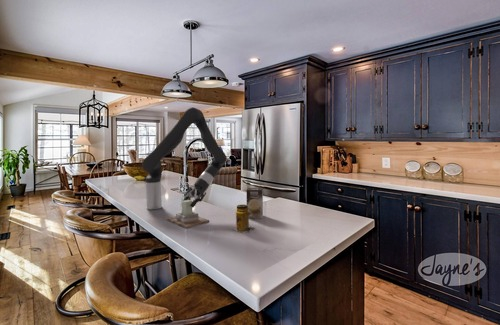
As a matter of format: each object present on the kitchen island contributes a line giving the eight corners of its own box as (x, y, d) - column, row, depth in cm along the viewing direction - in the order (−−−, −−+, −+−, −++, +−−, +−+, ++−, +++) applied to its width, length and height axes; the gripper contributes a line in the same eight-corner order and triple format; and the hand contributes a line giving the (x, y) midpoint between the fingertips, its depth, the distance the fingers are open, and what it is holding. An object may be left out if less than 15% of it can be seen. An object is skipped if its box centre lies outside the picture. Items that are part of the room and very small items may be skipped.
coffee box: (246, 218, 145) (245, 189, 143) (247, 215, 151) (246, 187, 150) (262, 218, 144) (262, 190, 142) (263, 215, 150) (262, 187, 149)
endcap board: (166, 220, 144) (166, 212, 144) (188, 214, 154) (188, 207, 153) (186, 228, 130) (185, 220, 130) (208, 221, 140) (208, 214, 139)
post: (182, 219, 142) (181, 201, 141) (188, 217, 145) (187, 199, 144) (186, 220, 139) (185, 202, 138) (192, 218, 142) (192, 200, 141)
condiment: (232, 230, 127) (232, 205, 126) (244, 225, 133) (243, 202, 132) (243, 233, 122) (243, 208, 121) (255, 228, 129) (255, 204, 128)
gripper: (193, 176, 151) (175, 199, 144) (207, 178, 141) (189, 203, 134) (201, 184, 155) (184, 206, 148) (215, 187, 145) (198, 211, 138)
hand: (187, 205), depth 141 cm, fingers open, 8 cm apart
